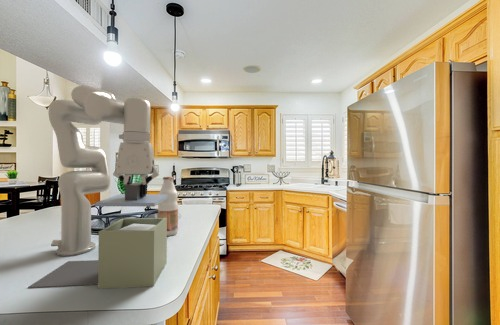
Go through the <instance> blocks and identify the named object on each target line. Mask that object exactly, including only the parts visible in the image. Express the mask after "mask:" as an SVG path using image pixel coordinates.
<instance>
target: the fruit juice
mask: <svg viewBox="0 0 500 325" xmlns="http://www.w3.org/2000/svg"><path fill="white" fill-rule="evenodd" d="M174 178H175V177H174V176H164V177H162V180H163V182H162V186H161V188H160V190H159V191H158V194H168V198H166V199H165V200H163V201H162V202H160V203H159V204H158V205H157V218H167V237H169V236H175V235H177V234H178V232H179V202H178V196H179V193H178V191H177V189H176V186H175V183H174Z"/></svg>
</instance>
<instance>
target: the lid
mask: <svg viewBox="0 0 500 325" xmlns="http://www.w3.org/2000/svg"><path fill="white" fill-rule="evenodd" d="M140 185H142V182H131V184H128V185H124V193H120V194H117V195H114V196H111V197H109V198H105V199H102V200H100V201H97V202H94V206H95V207H145V208H146V207H150V208H151V207H153V208H154V207H156V206H158V204H159V203H160V202H162V201H163V200H165V199H166V198H168V194H159V193H157V194H154V193H153V194H152V193H151V194H149V193H147V194H146V195H145V197H143V198H141V197H140Z"/></svg>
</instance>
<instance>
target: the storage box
mask: <svg viewBox="0 0 500 325" xmlns="http://www.w3.org/2000/svg"><path fill="white" fill-rule="evenodd" d="M131 224H149V225H156V226H155V227H154V228H153V229H152V230H119V229H121V228H123V227H126V226H129V225H131ZM167 238H168V236H167V218H158V217H157V218H155V217H146V218H145V217H141V218H139V217H138V218H137V217H136V218H133V217H132V218H130V217H129V218H120V219H119V220H117V221H115V222H113V223H111V224H110V225H108V226H107V227H106V226H105V228H103V229H101V230H99V231H98V259H97V260H98V284H97V286H98V289H114V288H116V289H117V288H138V287H139V288H141V287H154V286H155V284H156V283H157V281H158V279H159V277H160V275H161V274H162V272H163V270H164V269H165V267H166V265H167V258H168V256H167V252H168V248H167V247H168V246H167V244H168V242H167V241H168V240H167Z"/></svg>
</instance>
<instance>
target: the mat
mask: <svg viewBox="0 0 500 325" xmlns="http://www.w3.org/2000/svg"><path fill="white" fill-rule="evenodd" d="M77 286H78V287H81V286H82V287H83V286H85V287H87V286H98V259H97V260H96V259H95V260H94V259H92V260H68V261H67V262H65V263H63V264H62V265H59V266H58V267H57V268H55V269H54V270H52V271H51V272H49V273H47V274H46V275H45V276H43V277H41V278H40V279H38V280H37V281H35V282H34V283H32V284H31V285H29V286H28V287H27V289H34V288H35V289H37V288H38V289H40V288H61V287H63V288H64V287H77Z"/></svg>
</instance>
